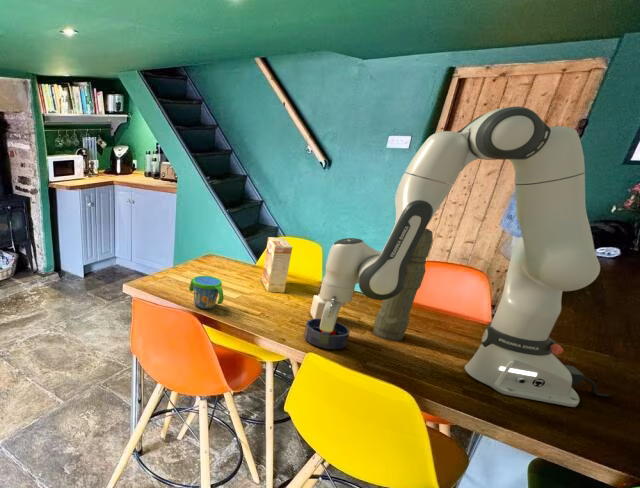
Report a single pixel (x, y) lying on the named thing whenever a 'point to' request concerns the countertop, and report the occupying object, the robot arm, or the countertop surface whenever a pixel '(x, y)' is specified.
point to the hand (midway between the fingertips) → (326, 333)
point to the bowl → (326, 335)
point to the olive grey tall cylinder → (404, 294)
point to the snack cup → (206, 291)
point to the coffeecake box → (276, 264)
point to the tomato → (331, 332)
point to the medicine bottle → (317, 306)
